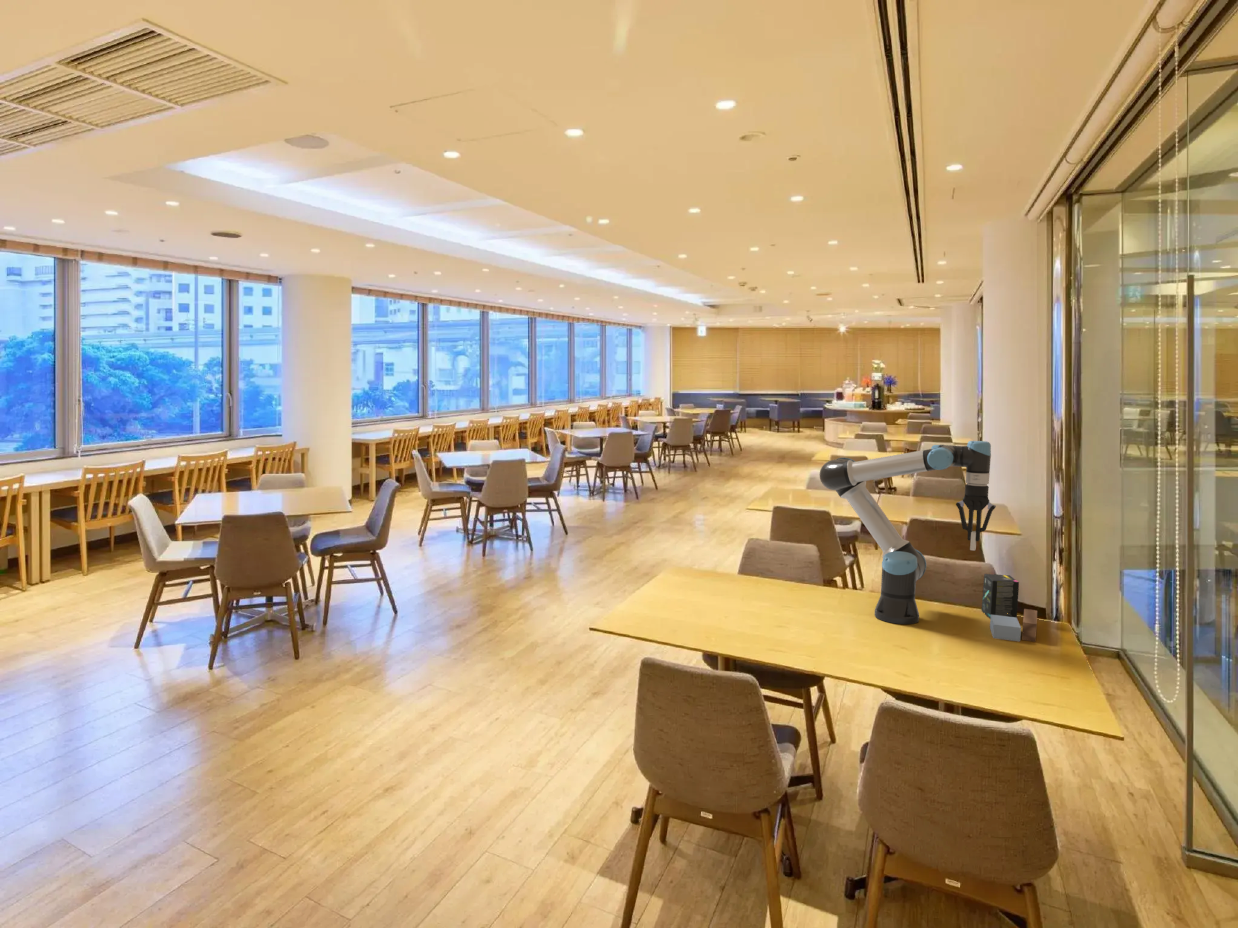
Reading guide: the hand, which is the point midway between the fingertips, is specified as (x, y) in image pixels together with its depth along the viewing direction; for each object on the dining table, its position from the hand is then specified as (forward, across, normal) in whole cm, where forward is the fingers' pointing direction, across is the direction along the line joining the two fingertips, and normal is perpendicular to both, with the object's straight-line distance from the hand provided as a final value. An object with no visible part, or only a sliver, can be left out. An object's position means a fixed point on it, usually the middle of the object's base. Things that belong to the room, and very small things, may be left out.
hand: (972, 549), depth 262 cm
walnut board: (+26, +19, -3) cm, 33 cm away
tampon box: (+26, +8, +13) cm, 30 cm away
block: (+26, +13, -10) cm, 31 cm away
